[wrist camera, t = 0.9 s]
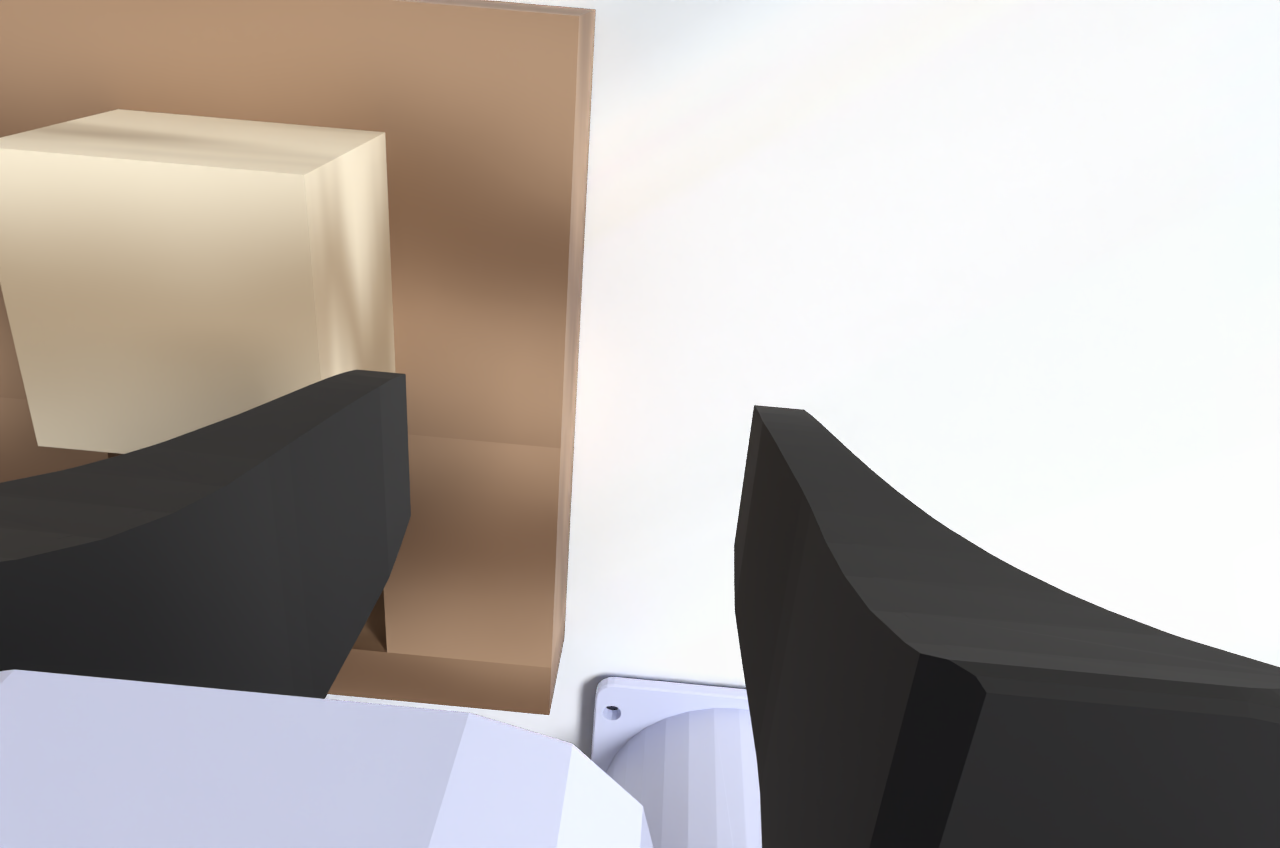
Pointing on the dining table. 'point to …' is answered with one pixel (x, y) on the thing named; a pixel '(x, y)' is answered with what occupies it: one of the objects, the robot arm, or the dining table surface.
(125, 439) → the maple block
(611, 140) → the dining table surface
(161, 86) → the board
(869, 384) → the dining table surface
